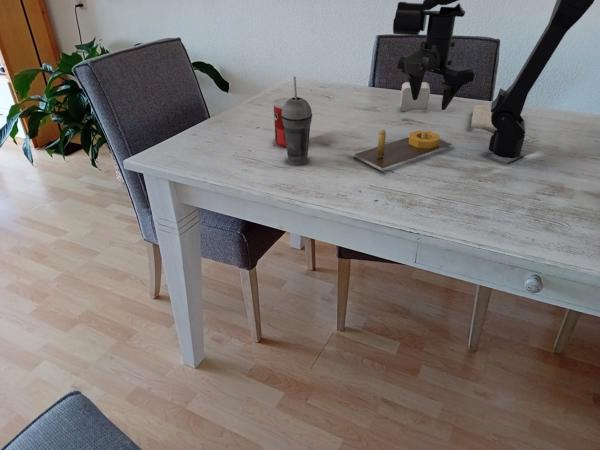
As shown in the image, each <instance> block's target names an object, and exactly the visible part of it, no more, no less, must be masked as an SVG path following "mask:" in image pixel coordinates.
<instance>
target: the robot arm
mask: <svg viewBox="0 0 600 450" xmlns="http://www.w3.org/2000/svg"><path fill="white" fill-rule="evenodd" d="M458 1H459V0H423V1H422V3H421V2H407V1H399V2H398V3H397V6H396V11H395V15H394V18H393V21H392V22H393V24H392V33H393V35H402V36H403V35H404V36H419V35H420V33H421V32H425V29H426V35H425V40H421V42H420V46H419V49H418V50H416V51H414V52H412V53H411V54H407V55H401V56H400V58H399V59H398V60H397V69H398V70H400V72H401V73H402V74H403V75H405V77H406V78H407V80H408V82H409V84H410V88H411V93H412V97H413V100H417V98H418V95H419V92H420V89H421V85H422V82H424V77H425V73H426V72H428V73H433V74H437V75H441V76H443V77H442V78H443V80H444V81H443V82H441V86H442V87H443V93H442V100H441V111H445V110H447V108H448V106H449V105H450V104H451V102H452V101H453V99H454V98H455V96H456V95H457V93H458V92H459V91H460V89H462V87H463V86H465V85H467V84H468V83H471V82H474V78H475V71H474V69H473V67H468V66H465V65H456V66H452V62H453V60H452V59H450V54H451V53H450V52H451V48H454V47H455V45H456V41H453V35H454V28H455V23H456V17H459V18H463V17H464V16H465V15H466V10H464V9H463V7H462V5H461V3H460V2H459V3H457V4H456V5H455V6H447V5H451V4H453V3H455V2H458ZM594 2H595V0H556V1H555V4H554V7H553V9H552V12H551V15H550V18H549V20H548V24H547V25H546V26H545V29H544V30H543V32H542V34H541V35H540V37H539V38H538V40H537V42H536V44H535V46H534V47H533V48H532V50H531V52H530V54H529V55H528V57H527V59H526V60H525V62H524V64H523V66H522V67H521V69H520V70H519V72H518V74H517V76H516V77H515V79H514V81H513V82H512V84H511V85H510V86H509V87H508V88H507V89H506V90H504V88H499V90H498V93H497V96H496V97H495V99H494V100H493V101H491V105H490V106H491V112H492V115H491V122H492V125H493V126H494V127H495V128H497V130H494V132H493V134H492V135H491V136H490V140H489V146H488V150H489V151H490V152H491V153H492V154H493V155H495V156H497V157H501V158H508V159H514V160H512V161H510V162H507V163H506V164H507V165H510V164H511V163H514V162H517V161H519V160H522V159H523V158H524V156H521V153H522V150H523V146H524V141H525V138H526V127H525V126H526V123H525V119H524V118H523V116H522V115H521V114H522V112H523V109H524V106H525V104H526V100H527V97H528V95H529V93H530V92H531V90H532V89H533V86H535V84H536V82H537V80H538V79H539V78H540V76H541V74H542V72H543V71H544V69H545V68H546V66H547V64H548V62H549V61H550V59H551V58H552V56H553V55H554V53H555V52H556V50H557V48H558V46H559V45H560V44H561V41H562V40H563V39H564V37H565V35H566V34H567V32H568V31H569V30H570V29H571V28H572V27H573V26H574V25H576V23H577V22H578V21H579V20H580V19H581V18H582V17H583V16H584V14H585V13H586V12H587V11H588V10H589V9H590V8H591V6H592V5H593V4H594ZM437 6H440V8H439V10H432V9H434V8H435V7H437ZM427 17H428V21H427ZM426 24H427V28H426ZM448 66H451V67H448ZM519 156H521V157H519ZM517 157H518V158H517ZM515 158H517V159H515Z"/></svg>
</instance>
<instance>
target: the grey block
mask: <svg viewBox="0 0 600 450" xmlns="http://www.w3.org/2000/svg"><path fill="white" fill-rule="evenodd" d="M400 91H401V92H400V98H399V106H400V110H401V111H402V112H405V113H406V112H410V111H413V110H417V109H421V110H425V111H428V107H429V101H430V96H431V88H430V84H429V83H428V81H427V82H426V81H422V85H421V89H420V92H419V95H418V98H417V100H413V97H412V93H411V88H410V84H409V81H405V82H404V83H402V85H401V89H400Z"/></svg>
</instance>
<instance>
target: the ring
mask: <svg viewBox="0 0 600 450" xmlns="http://www.w3.org/2000/svg"><path fill="white" fill-rule="evenodd" d="M423 132H426V133H427V134H428V138H427V139H421V135H422V133H423ZM408 137H409V144H410V145H413V146H415V147H417V148H434V147H436V146H439V142H440V140H441V138H440V134H439V133H436V132H433V131H430V130H415V131H412V132H409V134H408Z"/></svg>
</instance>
